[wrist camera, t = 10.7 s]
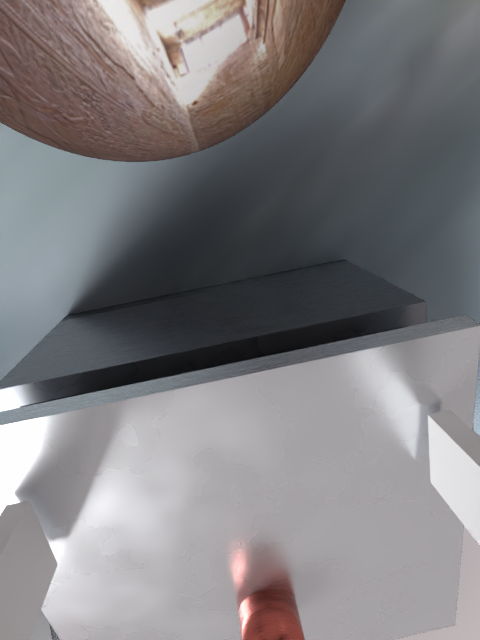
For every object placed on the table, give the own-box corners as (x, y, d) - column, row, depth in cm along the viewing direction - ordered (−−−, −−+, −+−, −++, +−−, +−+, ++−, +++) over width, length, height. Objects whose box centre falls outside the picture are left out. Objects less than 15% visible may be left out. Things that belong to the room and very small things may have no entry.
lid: (-51, 422, 13) (-111, 494, 10) (465, 314, 13) (531, 358, 11) (105, 685, 19) (93, 769, 17) (445, 607, 20) (483, 677, 17)
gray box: (23, 324, 23) (-79, 405, 15) (384, 251, 24) (488, 288, 15) (105, 541, 28) (65, 695, 20) (400, 476, 29) (484, 598, 20)
